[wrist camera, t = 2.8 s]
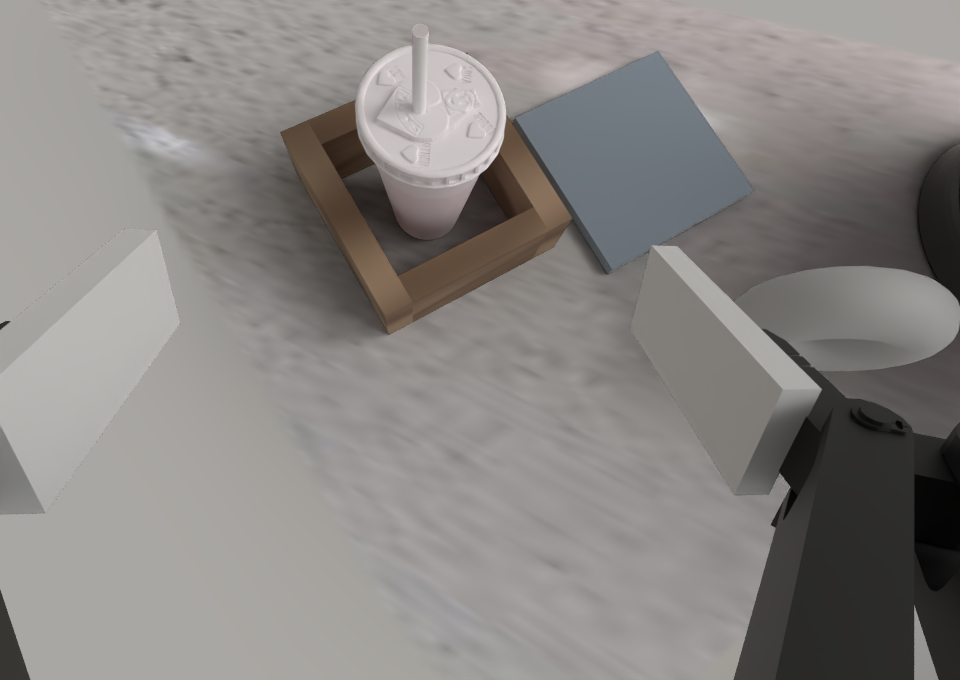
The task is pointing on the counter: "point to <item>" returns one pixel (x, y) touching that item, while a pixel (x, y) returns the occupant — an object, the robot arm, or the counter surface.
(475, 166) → the smoothie
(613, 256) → the coaster
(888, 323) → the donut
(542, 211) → the collar
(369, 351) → the counter surface
